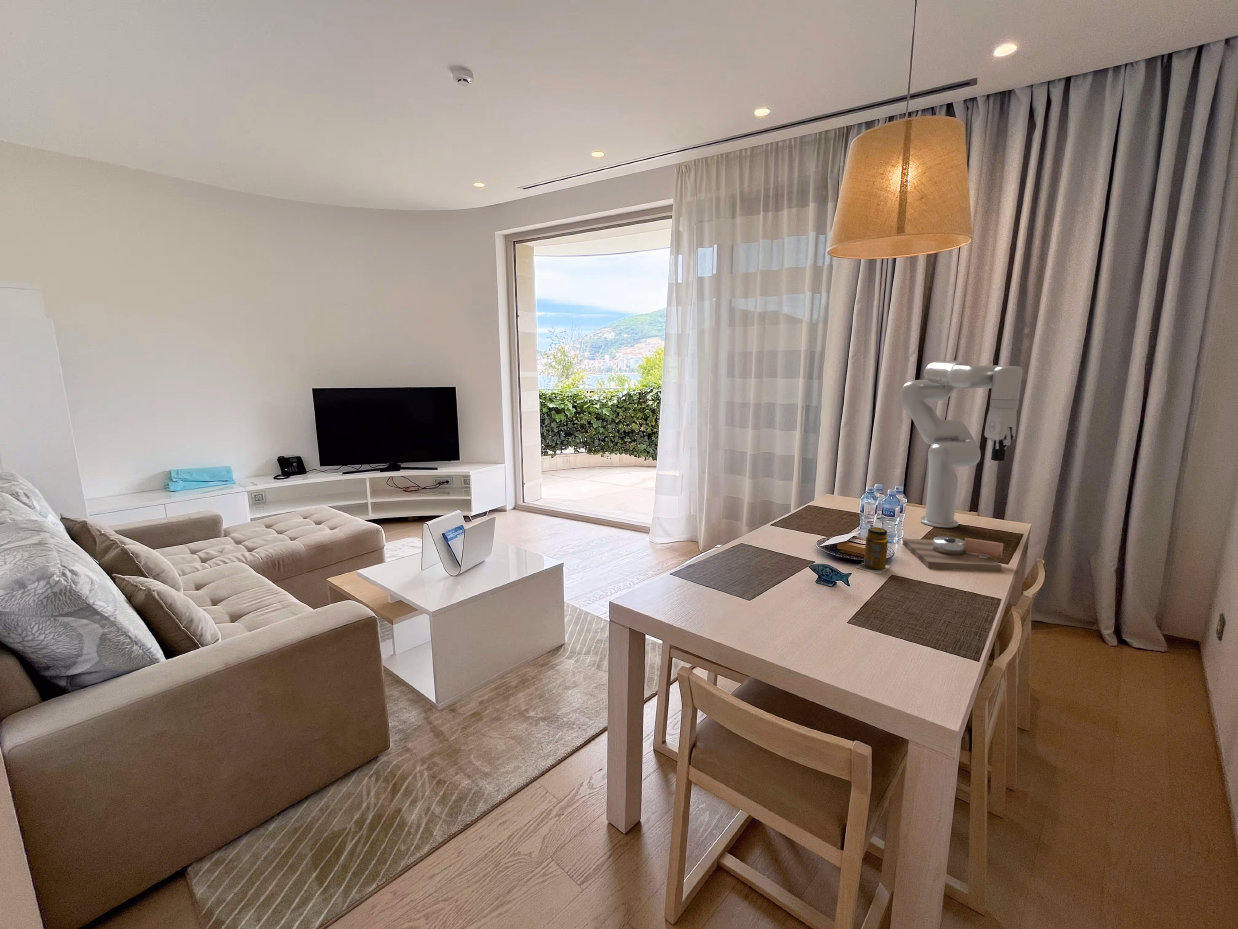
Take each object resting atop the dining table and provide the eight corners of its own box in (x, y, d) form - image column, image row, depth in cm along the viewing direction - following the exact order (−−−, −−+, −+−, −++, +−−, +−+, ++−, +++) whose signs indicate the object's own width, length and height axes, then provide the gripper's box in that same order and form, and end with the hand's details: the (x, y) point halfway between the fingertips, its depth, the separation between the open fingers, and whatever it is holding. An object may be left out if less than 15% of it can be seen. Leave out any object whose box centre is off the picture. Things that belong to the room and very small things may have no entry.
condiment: (890, 566, 163) (893, 529, 161) (879, 574, 158) (883, 535, 155) (866, 560, 168) (869, 524, 166) (855, 568, 163) (857, 530, 160)
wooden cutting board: (902, 544, 183) (903, 538, 182) (966, 546, 179) (967, 540, 179) (928, 568, 161) (928, 561, 161) (1001, 571, 158) (1002, 564, 158)
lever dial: (931, 551, 169) (932, 538, 168) (933, 543, 176) (934, 530, 175) (1002, 562, 159) (1004, 548, 158) (1001, 553, 166) (1002, 539, 165)
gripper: (979, 403, 180) (974, 456, 183) (1003, 406, 165) (996, 464, 169) (1004, 403, 179) (998, 456, 182) (1030, 406, 164) (1023, 464, 168)
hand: (997, 460), depth 176 cm, fingers closed
